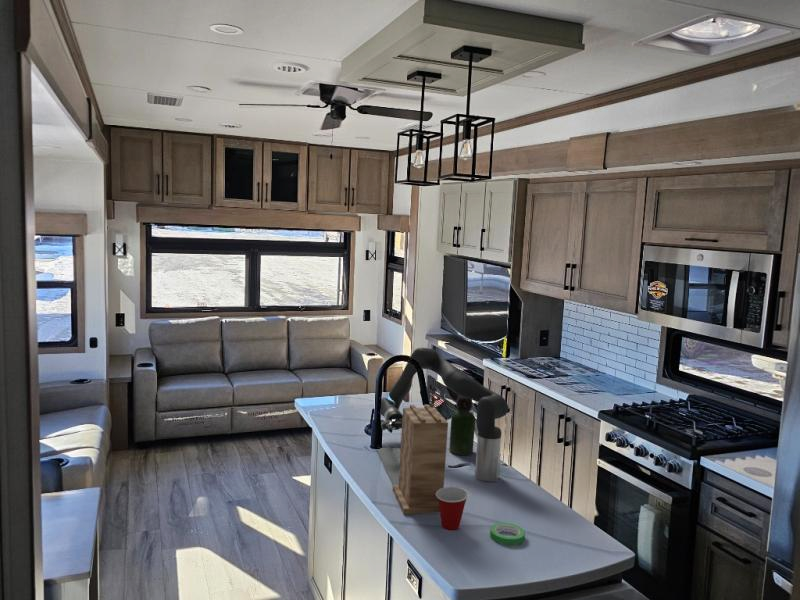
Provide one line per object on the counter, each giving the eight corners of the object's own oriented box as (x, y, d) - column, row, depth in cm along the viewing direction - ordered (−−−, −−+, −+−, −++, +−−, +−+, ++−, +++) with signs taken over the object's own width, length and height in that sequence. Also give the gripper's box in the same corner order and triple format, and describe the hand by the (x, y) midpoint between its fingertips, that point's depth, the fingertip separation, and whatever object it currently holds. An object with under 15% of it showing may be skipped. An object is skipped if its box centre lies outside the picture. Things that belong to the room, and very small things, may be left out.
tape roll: (501, 548, 208) (502, 540, 208) (483, 532, 218) (484, 525, 218) (531, 543, 212) (531, 535, 212) (512, 528, 222) (512, 520, 222)
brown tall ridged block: (392, 490, 247) (397, 403, 243) (433, 489, 250) (439, 403, 246) (403, 514, 227) (409, 420, 223) (448, 512, 231) (454, 420, 227)
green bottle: (466, 446, 298) (470, 393, 295) (476, 455, 289) (480, 399, 286) (445, 448, 295) (449, 393, 292) (454, 456, 285) (458, 400, 282)
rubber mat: (375, 449, 289) (376, 448, 289) (407, 448, 292) (407, 447, 292) (394, 489, 248) (394, 487, 248) (430, 488, 251) (430, 486, 251)
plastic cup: (427, 521, 223) (430, 487, 221) (456, 517, 227) (458, 484, 226) (442, 536, 213) (444, 501, 211) (471, 532, 217) (474, 497, 216)
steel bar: (392, 455, 281) (392, 448, 281) (399, 454, 282) (399, 448, 282) (405, 481, 254) (406, 473, 254) (413, 481, 255) (413, 473, 254)
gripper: (378, 410, 285) (385, 421, 269) (410, 409, 288) (419, 421, 272) (377, 426, 286) (384, 439, 270) (409, 426, 289) (418, 439, 273)
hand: (401, 430), depth 271 cm, fingers open, 8 cm apart
